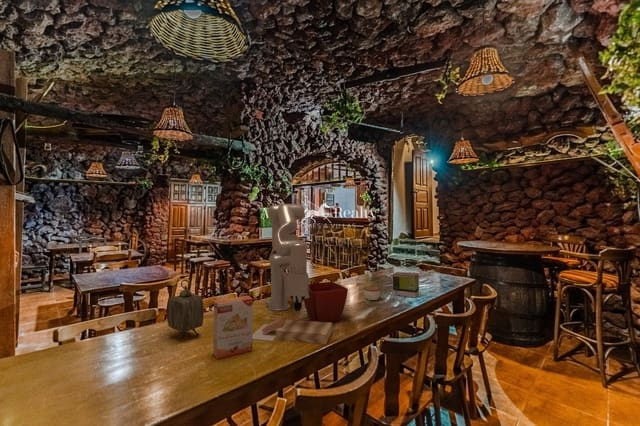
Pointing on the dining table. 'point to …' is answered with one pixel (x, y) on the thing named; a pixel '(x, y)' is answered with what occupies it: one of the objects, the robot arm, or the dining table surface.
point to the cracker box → (233, 326)
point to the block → (273, 325)
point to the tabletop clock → (185, 311)
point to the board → (304, 331)
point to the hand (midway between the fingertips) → (297, 310)
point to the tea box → (406, 284)
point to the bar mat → (267, 337)
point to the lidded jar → (372, 292)
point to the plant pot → (326, 301)
